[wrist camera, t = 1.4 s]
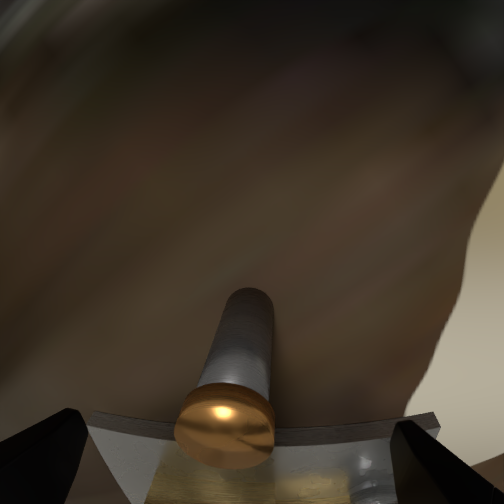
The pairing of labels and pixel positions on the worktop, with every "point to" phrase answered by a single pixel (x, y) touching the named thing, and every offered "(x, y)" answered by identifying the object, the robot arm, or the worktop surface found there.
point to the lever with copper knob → (233, 389)
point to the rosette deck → (262, 475)
